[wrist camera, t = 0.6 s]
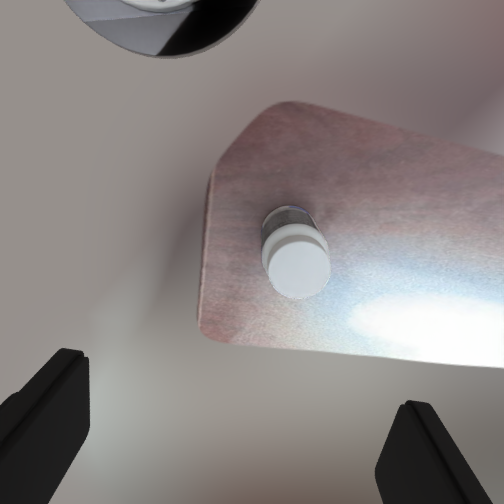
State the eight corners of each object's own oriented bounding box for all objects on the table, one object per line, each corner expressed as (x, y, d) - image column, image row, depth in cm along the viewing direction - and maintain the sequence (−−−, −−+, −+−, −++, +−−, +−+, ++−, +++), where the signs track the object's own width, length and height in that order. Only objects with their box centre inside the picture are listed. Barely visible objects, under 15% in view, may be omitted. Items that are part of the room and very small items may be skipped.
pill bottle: (249, 231, 28) (245, 271, 20) (289, 192, 27) (301, 218, 19) (287, 267, 29) (297, 318, 21) (327, 231, 28) (353, 271, 20)
